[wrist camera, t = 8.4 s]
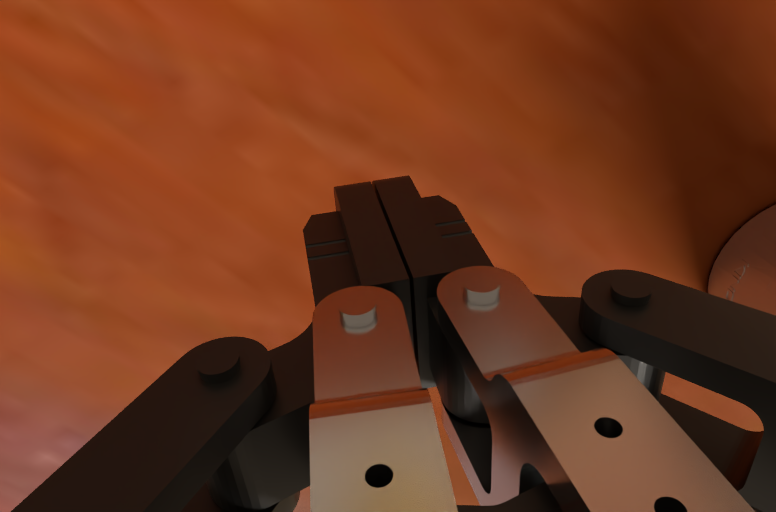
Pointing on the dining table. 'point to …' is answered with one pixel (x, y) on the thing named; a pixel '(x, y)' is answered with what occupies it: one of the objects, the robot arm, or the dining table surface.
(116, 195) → the dining table surface
